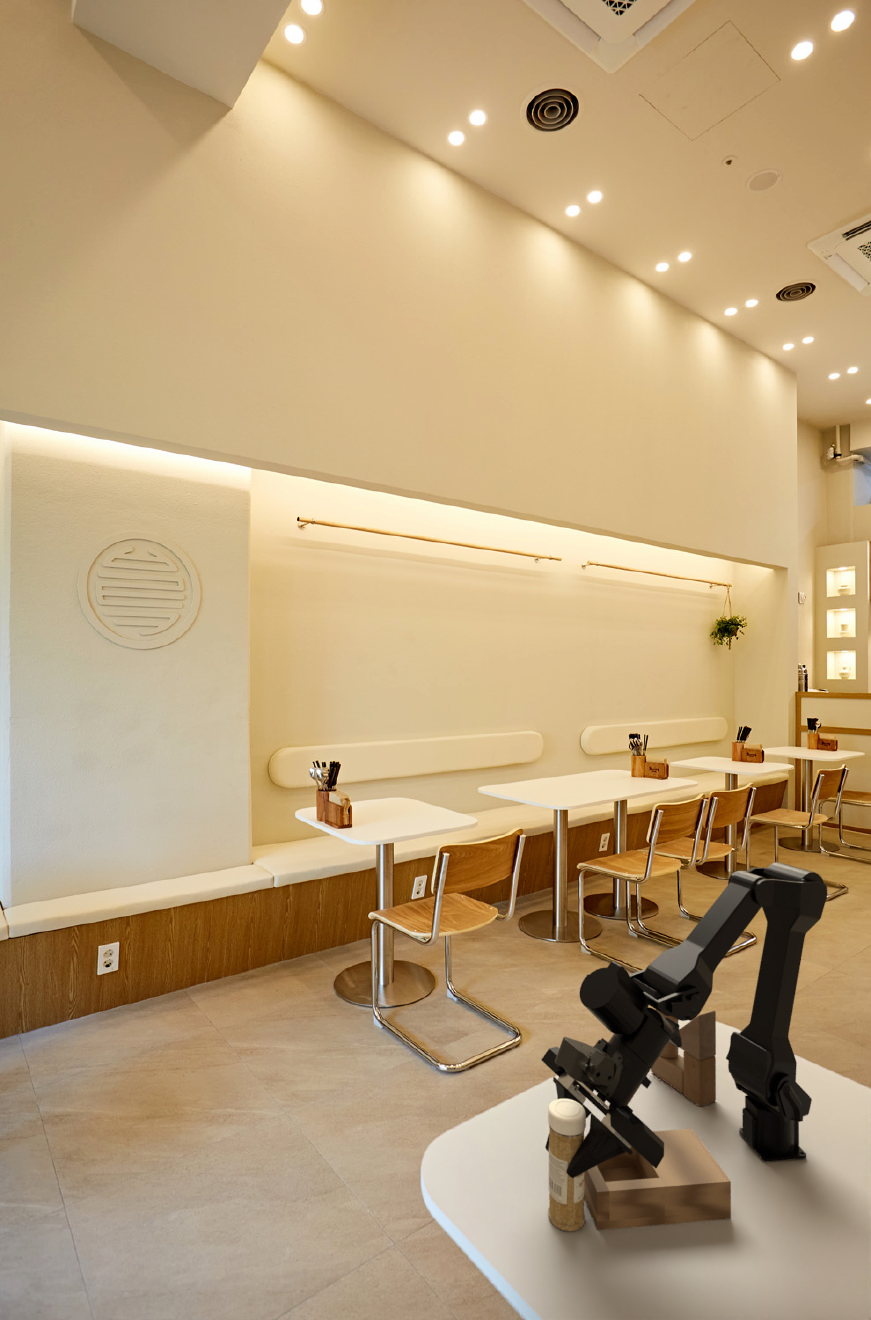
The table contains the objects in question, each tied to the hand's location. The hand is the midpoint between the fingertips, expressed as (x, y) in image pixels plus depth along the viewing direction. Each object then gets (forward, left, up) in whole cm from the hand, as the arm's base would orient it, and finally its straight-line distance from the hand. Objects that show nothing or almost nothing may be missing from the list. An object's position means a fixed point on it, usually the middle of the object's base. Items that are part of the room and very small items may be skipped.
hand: (558, 1163), depth 85 cm
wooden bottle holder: (-13, -3, -7) cm, 15 cm away
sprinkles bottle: (-1, -1, -7) cm, 7 cm away
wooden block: (-28, -25, -7) cm, 39 cm away
